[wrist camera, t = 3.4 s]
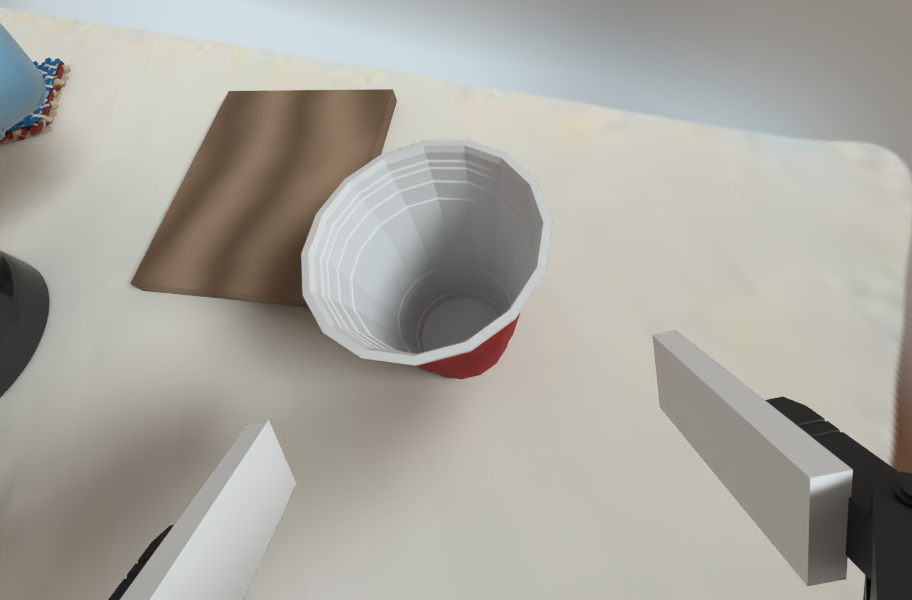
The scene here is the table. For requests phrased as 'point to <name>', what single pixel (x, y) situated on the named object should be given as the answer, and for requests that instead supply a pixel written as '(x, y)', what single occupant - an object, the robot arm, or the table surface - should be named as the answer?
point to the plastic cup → (428, 256)
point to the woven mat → (42, 114)
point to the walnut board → (262, 192)
